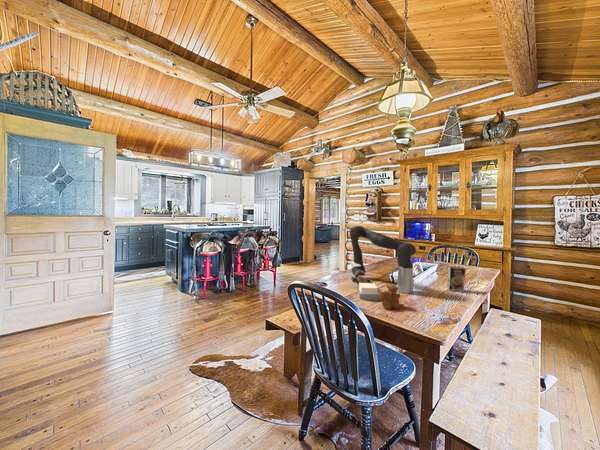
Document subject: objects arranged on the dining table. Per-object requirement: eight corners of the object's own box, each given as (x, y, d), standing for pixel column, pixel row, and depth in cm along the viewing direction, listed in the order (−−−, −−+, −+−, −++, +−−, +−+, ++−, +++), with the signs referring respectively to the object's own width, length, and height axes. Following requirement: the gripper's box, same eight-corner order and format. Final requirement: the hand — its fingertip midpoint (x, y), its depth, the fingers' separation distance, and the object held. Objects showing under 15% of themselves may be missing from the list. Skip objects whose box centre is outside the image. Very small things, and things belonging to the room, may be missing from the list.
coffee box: (449, 291, 177) (450, 268, 176) (446, 288, 184) (448, 266, 182) (464, 292, 175) (465, 269, 173) (461, 289, 181) (462, 267, 180)
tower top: (374, 289, 169) (374, 283, 169) (377, 294, 159) (377, 288, 159) (358, 288, 170) (358, 282, 170) (361, 294, 160) (361, 287, 160)
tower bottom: (375, 295, 170) (375, 289, 169) (377, 301, 159) (378, 295, 158) (358, 294, 171) (358, 288, 171) (359, 300, 160) (359, 293, 160)
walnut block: (364, 289, 179) (365, 275, 179) (365, 291, 174) (366, 277, 174) (357, 289, 180) (358, 275, 179) (358, 291, 175) (358, 277, 174)
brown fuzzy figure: (405, 307, 149) (406, 285, 148) (389, 312, 141) (390, 289, 140) (391, 301, 157) (391, 280, 156) (375, 306, 150) (375, 284, 148)
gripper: (350, 270, 192) (351, 277, 175) (370, 271, 189) (373, 278, 173) (350, 280, 192) (351, 287, 176) (370, 281, 190) (372, 289, 173)
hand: (362, 283), depth 174 cm, fingers closed on walnut block, 5 cm apart
